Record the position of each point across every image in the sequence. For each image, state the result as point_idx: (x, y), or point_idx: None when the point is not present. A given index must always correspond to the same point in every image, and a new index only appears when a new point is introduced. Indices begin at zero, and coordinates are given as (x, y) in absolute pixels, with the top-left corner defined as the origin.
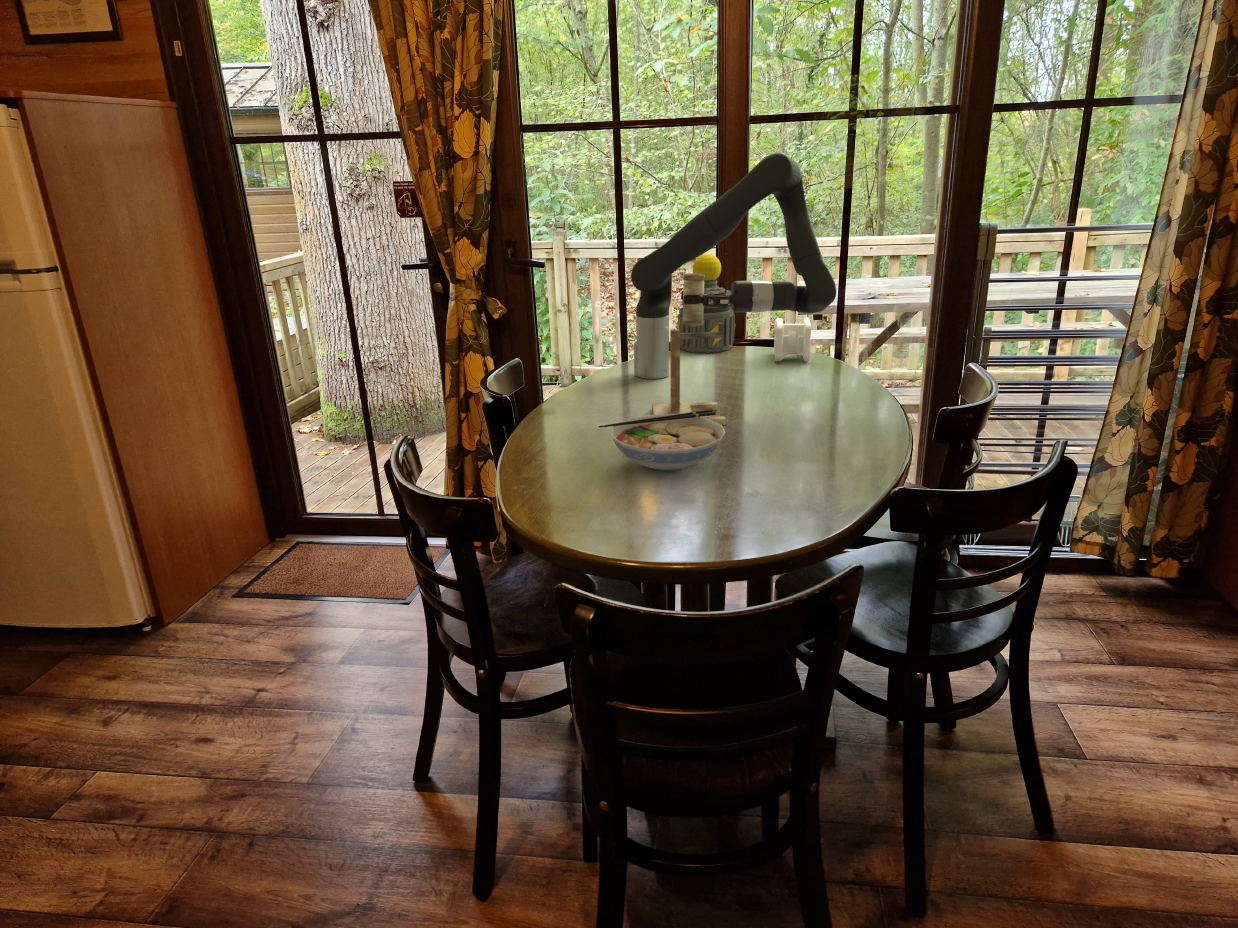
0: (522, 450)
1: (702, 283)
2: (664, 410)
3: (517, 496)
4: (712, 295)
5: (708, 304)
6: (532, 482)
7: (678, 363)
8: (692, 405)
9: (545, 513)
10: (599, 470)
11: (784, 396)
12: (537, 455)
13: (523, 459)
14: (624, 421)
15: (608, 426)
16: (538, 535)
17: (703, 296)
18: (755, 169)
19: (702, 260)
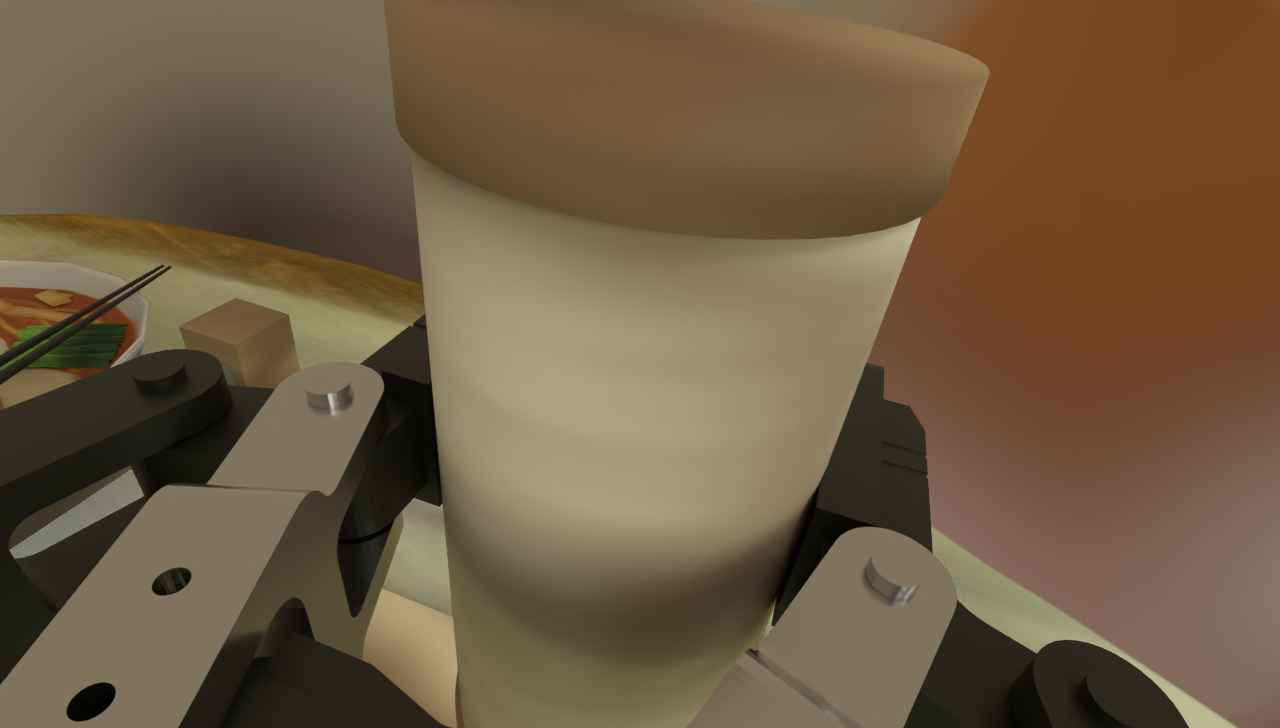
0: (414, 295)
1: (425, 237)
2: (386, 644)
3: (196, 238)
4: (30, 470)
5: (126, 507)
6: (230, 262)
7: None
8: None
9: (81, 238)
10: (149, 336)
11: None
12: (361, 301)
13: (361, 283)
14: (143, 317)
15: (142, 277)
16: (23, 215)
17: (211, 362)
18: None
19: None
